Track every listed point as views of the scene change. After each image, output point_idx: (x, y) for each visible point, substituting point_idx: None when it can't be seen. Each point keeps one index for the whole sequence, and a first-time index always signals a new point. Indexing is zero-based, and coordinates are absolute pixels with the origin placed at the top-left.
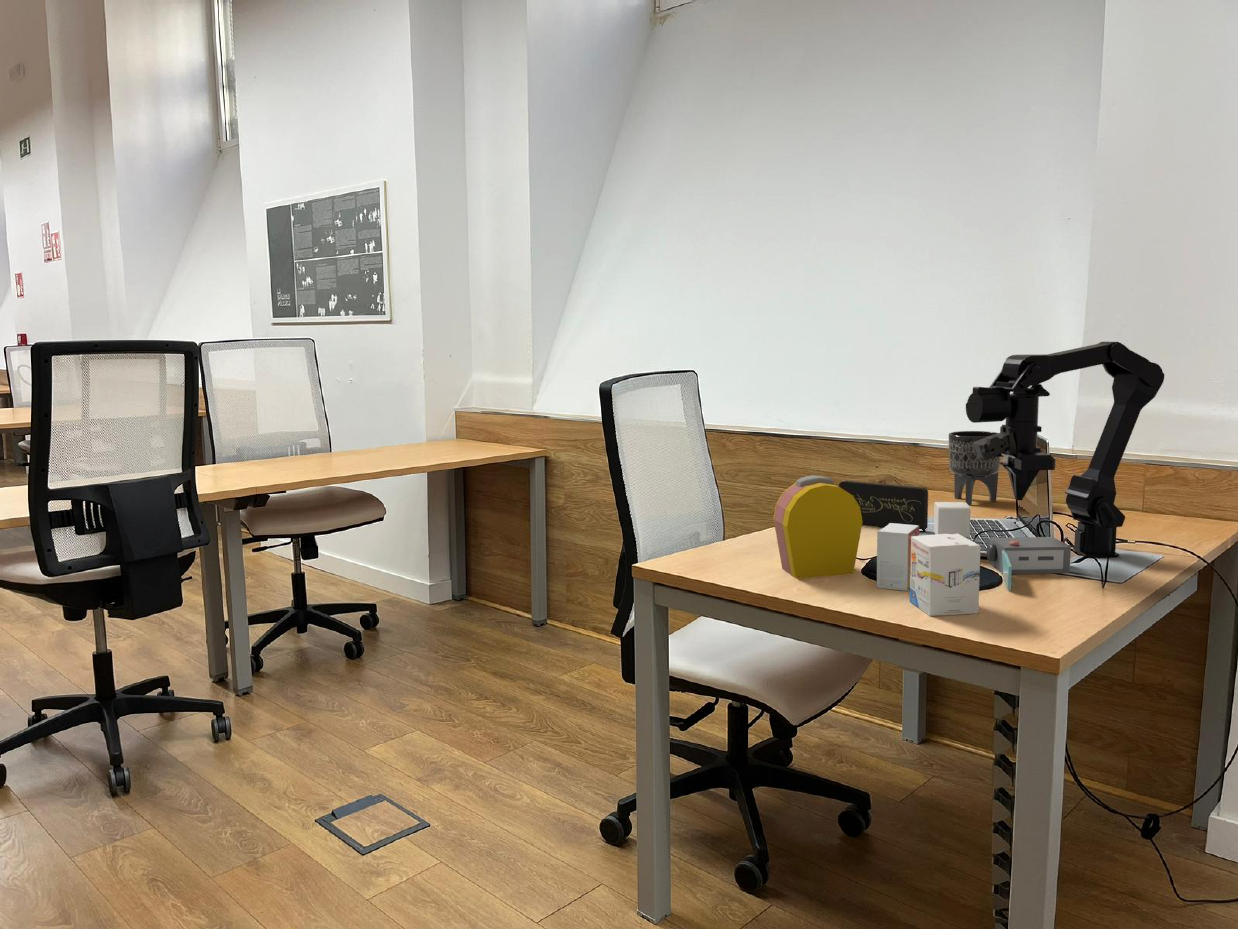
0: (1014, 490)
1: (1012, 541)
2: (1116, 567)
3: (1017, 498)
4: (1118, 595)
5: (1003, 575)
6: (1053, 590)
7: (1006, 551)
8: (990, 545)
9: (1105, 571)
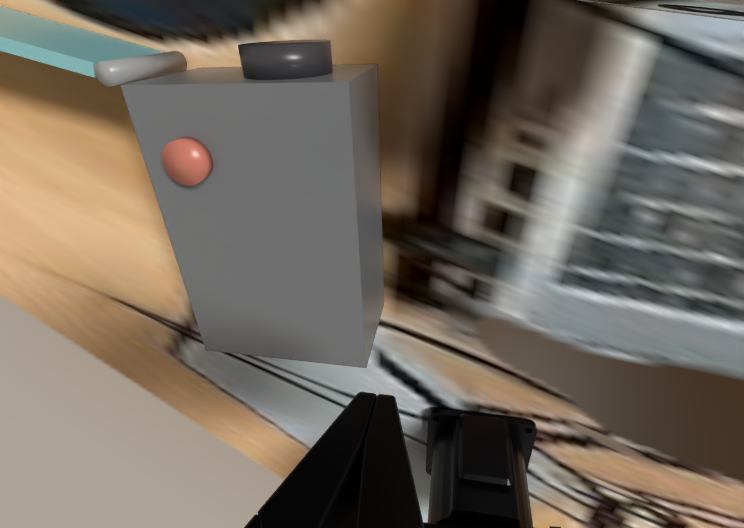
0: (363, 458)
1: (190, 157)
2: (325, 414)
3: (350, 405)
4: (59, 300)
5: (121, 41)
6: (39, 165)
7: (99, 81)
8: (256, 49)
9: (281, 377)
